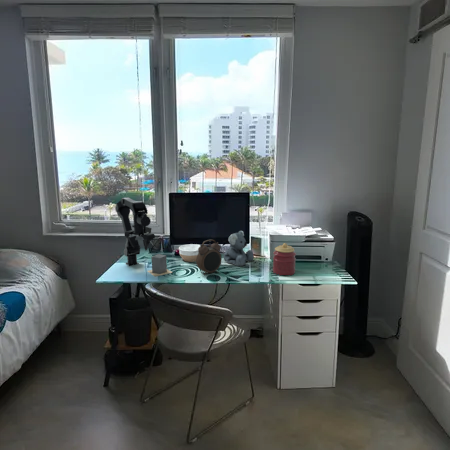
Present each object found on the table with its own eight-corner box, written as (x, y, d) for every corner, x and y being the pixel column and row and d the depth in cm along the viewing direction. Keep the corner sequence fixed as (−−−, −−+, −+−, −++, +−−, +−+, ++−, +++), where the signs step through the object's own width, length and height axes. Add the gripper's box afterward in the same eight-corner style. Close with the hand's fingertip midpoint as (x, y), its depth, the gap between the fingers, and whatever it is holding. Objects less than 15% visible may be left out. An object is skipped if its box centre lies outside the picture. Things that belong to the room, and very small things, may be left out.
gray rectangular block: (152, 272, 203) (151, 256, 201) (159, 269, 208) (158, 253, 206) (160, 274, 200) (159, 258, 198) (166, 271, 206) (166, 255, 203)
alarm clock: (202, 277, 197) (201, 243, 192) (195, 274, 202) (195, 240, 198) (223, 272, 205) (223, 239, 201) (216, 269, 211) (216, 236, 206)
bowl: (175, 257, 233) (175, 245, 231) (198, 254, 240) (198, 242, 238) (183, 264, 219) (183, 252, 217) (207, 261, 226) (207, 249, 224)
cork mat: (146, 271, 206) (146, 271, 206) (163, 268, 212) (163, 267, 212) (155, 277, 197) (154, 276, 197) (172, 273, 203) (172, 272, 203)
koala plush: (242, 267, 213) (242, 236, 209) (217, 262, 222) (217, 232, 218) (255, 260, 227) (255, 230, 223) (231, 255, 237) (231, 227, 232)
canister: (278, 277, 198) (279, 247, 194) (269, 269, 210) (270, 241, 206) (299, 275, 201) (300, 245, 197) (289, 267, 213) (290, 239, 209)
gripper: (160, 222, 204) (161, 248, 208) (136, 219, 214) (138, 243, 217) (147, 226, 195) (148, 253, 198) (123, 222, 204) (124, 248, 208)
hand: (140, 249), depth 206 cm, fingers open, 9 cm apart
